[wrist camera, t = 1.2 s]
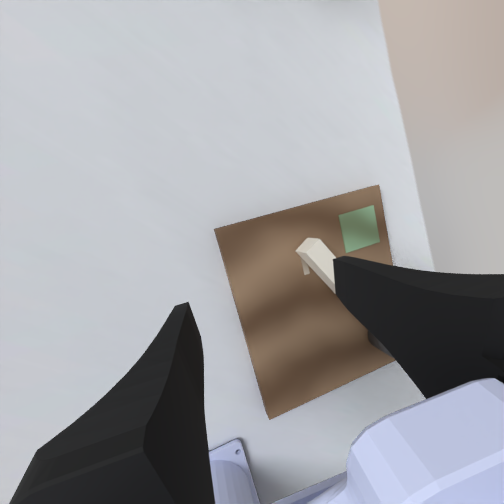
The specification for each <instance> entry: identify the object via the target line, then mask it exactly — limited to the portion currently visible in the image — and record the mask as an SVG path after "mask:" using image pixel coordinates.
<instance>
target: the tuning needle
mask: <svg viewBox="0 0 504 504" xmlns="http://www.w3.org/2000/svg"><path fill="white" fill-rule="evenodd" d="M296 252H297V253H298V254H299V255H300V257H301V258H302V259H303V260H304V261H305V262H306V263H307V264H308V265H309V266H310V267H311V268H312V269H313V270H314V272H315V273H316V274H317V275H318V276H319V277H320V278H321V279H322V280H323V281H324V282H325V283H326V284H327V285H328V287H329V288H330V289H331V290H332V291H333V292H334V293H335V281H334V268H333V259H335V258H336V257H335V256H334V255H333V254H332V252H331V251H330V250H329V249H328V248H327V247H326V246H325V244H324V243H323V242H322V241H321V240H320V239H318V238H307V239H306V240H305V241H304V242H303V243H302V244H301V245H300V246H299V247H298V249H297V250H296ZM368 339H369V342H370V343H371V344H372V345H373V346H375V347H376V348H378V349H379V350H381V351H383V352H384V353H386V354H387V355H389V356H391V357H392V358H394V357H393V356H392V355H391V353H390V352H389V351H388V350H387V349H386V348H385V347H384V345H383V344H382V343H381V342H380V341H379V340H378V339H377V338H376V337H375V336H374V335H373V334H372V333H371V332H370V331H369V330H368ZM394 359H395V358H394Z"/></svg>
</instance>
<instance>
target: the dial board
mask: <svg viewBox="0 0 504 504" xmlns="http://www.w3.org/2000/svg"><path fill="white" fill-rule="evenodd" d="M214 231H215V234H216V238H217V241H218V245H219V248H220V252H221V255H222V259H223V262H224V266H225V269H226V273H227V276H228V280H229V283H230V287H231V290H232V294H233V298H234V301H235V305H236V308H237V312H238V315H239V319H240V322H241V326H242V329H243V333H244V336H245V340H246V343H247V347H248V350H249V354H250V357H251V361H252V364H253V368H254V372H255V375H256V379H257V382H258V386H259V389H260V393H261V396H262V400H263V403H264V407H265V410H266V413H267V415H268V418H269V420H271V419H273V418H275V417H277V416H279V415H281V414H283V413H285V412H288V411H290V410H292V409H294V408H296V407H298V406H300V405H302V404H304V403H307V402H309V401H311V400H313V399H315V398H317V397H319V396H321V395H323V394H326V393H328V392H330V391H332V390H334V389H336V388H338V387H340V386H342V385H345V384H347V383H349V382H351V381H353V380H355V379H357V378H359V377H361V376H363V375H366V374H368V373H370V372H372V371H374V370H376V369H378V368H380V367H382V366H385V365H387V364H389V363H391V362H393V361H395V360H396V359H394V358H392V357H391V356H389V355H387V354H386V353H384V352H383V351H381V350H379V349H378V348H376V347H375V346H373V345H372V344H371V343H370V342H369V339H368V329H367V328H366V327H364V326H363V325H362V324H361V323H360V322H359V321H358V320H357V319H356V318H355V317H354V316H353V315H352V314H351V313H350V312H349V311H348V310H347V308H346V307H345V306H344V305H343V303H342V302H341V301H340V299H339V298H338V297H337V295H336V294H335V293H334V292H333V291H332V290H331V289H330V288H329V287H328V285H327V284H326V283H325V282H324V281H323V280H322V279H321V278H320V277H319V276H318V275H317V274H316V273H315V272H314V270H313V269H312V268H311V267H310V266H309V265H308V264H307V263H306V262H305V261H304V260H303V259H302V258H301V257H300V255H299V254H298V253H297V252H296V250H297V249H298V247H299V246H300V245H301V244H302V243H303V242H304V241H305V240H306V239H307V238H318V239H320V240H321V241H322V242H323V243H324V244H325V246H326V247H327V248H328V249H329V250H330V251H331V252H332V254H333V255H334V256H335V257H336V258H338V257H341V256H350V257H356V258H360V259H365V260H369V261H374V262H378V263H383V264H387V265H392V266H393V263H392V257H391V252H390V246H389V240H388V234H387V228H386V222H385V216H384V211H383V205H382V199H381V193H380V187H379V185H375V186H371V187H367V188H364V189H360V190H356V191H352V192H349V193H345V194H341V195H338V196H334V197H330V198H327V199H323V200H319V201H316V202H312V203H308V204H305V205H301V206H297V207H294V208H290V209H286V210H283V211H279V212H275V213H272V214H268V215H264V216H261V217H257V218H253V219H250V220H246V221H242V222H238V223H235V224H231V225H227V226H224V227H220V228H216V229H214Z"/></svg>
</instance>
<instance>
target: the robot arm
mask: <svg viewBox="0 0 504 504" xmlns="http://www.w3.org/2000/svg"><path fill="white" fill-rule="evenodd" d="M333 268H334V281H335V294H336V295H337V297H338V298H339V299H340V301H341V302H342V303H343V305H344V306H345V307H346V308H347V310H348V311H349V312H350V313H351V314H352V315H353V316H354V317H355V318H356V319H357V320H358V321H359V322H360V323H361V324H362V325H363V326H364V327H366V328H367V329H368V330H369V331H370V332H371V333H372V334H373V335H374V336H375V337H376V338H377V339H378V340H379V341H380V342H381V343H382V344H383V345H384V347H385V348H386V349H387V350H388V351H389V352H390V353H391V355H392V356H393V357H394V358H395V359H396V361H397V362H398V363H399V364H400V365H401V367H402V368H403V369H404V370H405V372H406V373H407V374H408V376H409V377H410V378H411V379H412V381H413V382H414V383H415V385H416V386H417V387H418V388H419V390H420V391H421V393H422V394H423V395H424V397H425V398H426V400H423V401H421V402H418V403H416V404H413V405H411V406H408V407H406V408H403V409H401V410H398V411H396V412H393V413H391V414H388V415H386V416H384V417H382V418H380V419H379V420H377V421H375V422H374V423H372V424H370V425H369V426H367V427H365V429H364V430H363V431H362V432H361V433H360V434H359V435H358V436H357V438H356V439H355V440H354V441H353V442H352V444H351V448H350V451H349V455H348V458H347V463H346V468H347V471H346V472H343V473H341V474H339V475H336V476H334V477H332V478H329V479H327V480H325V481H322V482H320V483H317V484H315V485H313V486H310V487H308V488H306V489H303V490H301V491H299V492H296V493H294V494H292V495H289V496H287V497H285V498H282V499H280V500H278V501H275V502H273V503H271V504H504V274H483V275H481V274H453V273H440V272H430V271H422V270H415V269H408V268H403V267H397V266H392V265H387V264H383V263H378V262H374V261H369V260H365V259H360V258H356V257H350V256H341V257H338V258H335V259H333ZM238 449H239V450H238ZM236 450H238V451H236ZM9 504H260V502H259V498H258V495H257V492H256V489H255V485H254V482H253V479H252V476H251V472H250V469H249V466H248V463H247V460H246V456H245V453H244V450H243V447H242V443H241V441H240V440H239V439H236V440H233V441H231V442H229V443H227V444H225V445H223V446H221V447H218V448H216V449H214V450H212V451H210V452H209V450H208V441H207V432H206V423H205V412H204V356H203V348H202V341H201V336H200V333H199V330H198V327H197V324H196V322H195V319H194V316H193V313H192V310H191V308H190V305H189V302H187V303H183V304H180V305H176V306H175V307H174V309H173V310H172V312H171V313H170V315H169V317H168V318H167V320H166V322H165V323H164V325H163V327H162V328H161V330H160V331H159V333H158V334H157V336H156V337H155V339H154V340H153V342H152V343H151V344H150V346H149V347H148V349H147V350H146V351H145V353H144V354H143V355H142V356H141V358H140V359H139V360H138V361H137V362H136V364H135V365H134V366H133V367H132V368H131V369H130V370H129V372H128V373H127V374H126V375H125V376H124V377H123V378H122V379H121V380H120V381H119V382H118V383H117V384H116V385H115V386H114V387H113V388H112V389H111V390H110V391H109V392H108V393H107V394H106V395H105V396H104V397H103V398H101V399H100V400H99V401H98V402H97V403H96V404H95V405H94V406H93V407H91V408H90V409H89V410H88V411H87V412H86V413H84V414H83V415H82V416H81V417H80V418H78V419H77V420H76V421H75V422H74V423H72V424H71V425H70V426H68V427H67V428H66V429H64V430H63V431H62V432H61V433H59V434H58V435H57V436H55V437H54V438H53V439H51V440H50V441H49V442H48V443H46V444H45V445H44V446H42V447H41V448H39V449H38V450H37V451H36V453H35V455H34V457H33V459H32V461H31V463H30V465H29V466H28V468H27V470H26V472H25V474H24V476H23V478H22V480H21V482H20V484H19V486H18V488H17V490H16V492H15V494H14V496H13V497H12V499H11V501H10V503H9Z"/></svg>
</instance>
